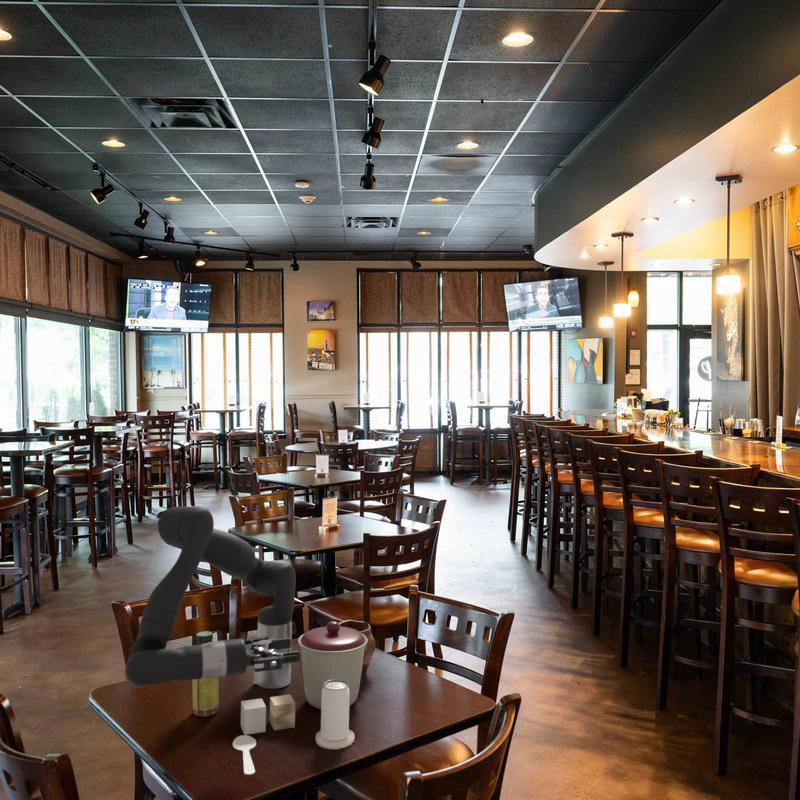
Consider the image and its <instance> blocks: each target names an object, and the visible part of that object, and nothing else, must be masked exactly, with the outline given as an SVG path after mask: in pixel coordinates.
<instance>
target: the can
mask: <svg viewBox="0 0 800 800" xmlns="http://www.w3.org/2000/svg"><path fill="white" fill-rule="evenodd" d="M320 710H321V711H320V730H321V736H322V738H323V739H325V740H327V741H331V742H337V741H342V740H344V739H346V738H347V736H348V733H349V730H350V729H349V728H350V727H349V726H350V706H349V688H348V683H347V682H345V681H343V680H330V681H327V682H325V683H324V687H323V689H322V698H321V709H320Z"/></svg>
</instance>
